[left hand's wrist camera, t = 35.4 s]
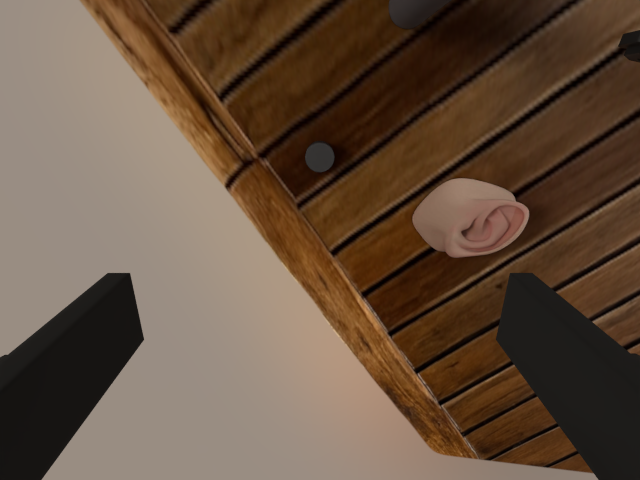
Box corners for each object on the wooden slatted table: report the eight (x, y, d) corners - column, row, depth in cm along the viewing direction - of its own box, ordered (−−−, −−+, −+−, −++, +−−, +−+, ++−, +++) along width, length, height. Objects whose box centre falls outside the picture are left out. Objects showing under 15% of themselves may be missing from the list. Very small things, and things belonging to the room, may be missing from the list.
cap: (315, 135, 47) (315, 136, 45) (339, 151, 48) (339, 153, 46) (300, 159, 48) (299, 162, 46) (323, 174, 49) (324, 177, 47)
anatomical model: (407, 244, 48) (453, 164, 44) (401, 234, 52) (443, 159, 48) (492, 281, 50) (543, 207, 46) (480, 268, 54) (526, 199, 50)
